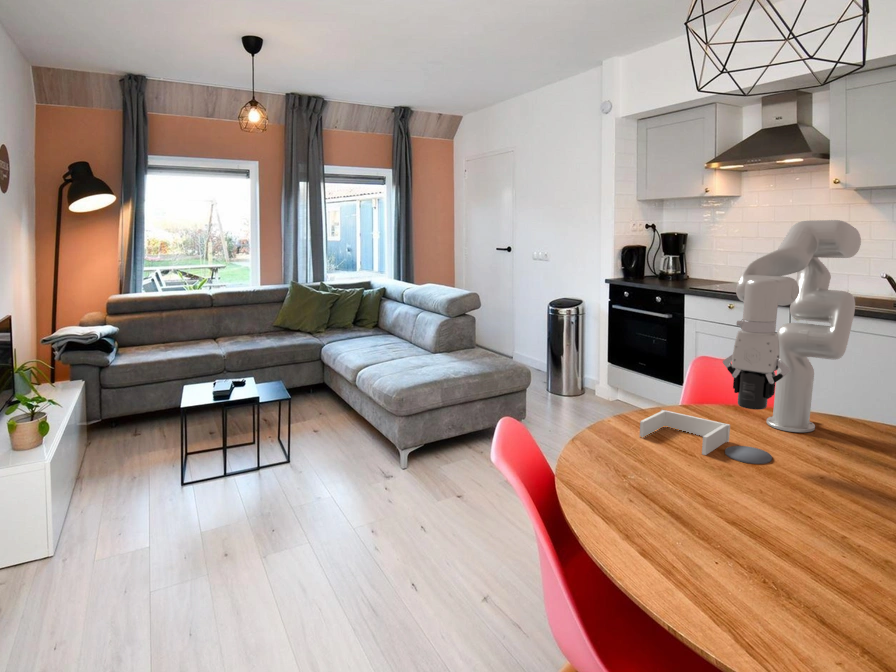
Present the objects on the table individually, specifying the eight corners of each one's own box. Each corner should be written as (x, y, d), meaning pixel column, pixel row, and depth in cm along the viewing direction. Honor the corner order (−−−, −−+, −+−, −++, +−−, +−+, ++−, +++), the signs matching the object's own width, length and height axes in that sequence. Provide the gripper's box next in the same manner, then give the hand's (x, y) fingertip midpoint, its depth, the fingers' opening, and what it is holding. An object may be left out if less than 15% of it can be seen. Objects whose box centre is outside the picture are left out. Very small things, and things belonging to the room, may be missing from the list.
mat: (734, 444, 158) (734, 442, 158) (777, 455, 150) (777, 453, 150) (718, 455, 150) (718, 453, 150) (763, 467, 142) (763, 465, 142)
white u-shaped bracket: (661, 425, 175) (662, 409, 174) (728, 441, 160) (730, 424, 159) (637, 437, 165) (638, 420, 164) (707, 455, 150) (708, 437, 150)
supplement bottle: (773, 409, 145) (777, 363, 142) (748, 411, 144) (752, 365, 142) (755, 401, 151) (758, 358, 149) (731, 403, 150) (735, 359, 148)
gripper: (717, 325, 148) (712, 391, 151) (792, 333, 135) (785, 404, 138) (729, 322, 153) (724, 385, 156) (801, 329, 140) (795, 398, 143)
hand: (752, 394), depth 147 cm, fingers closed on supplement bottle, 6 cm apart
